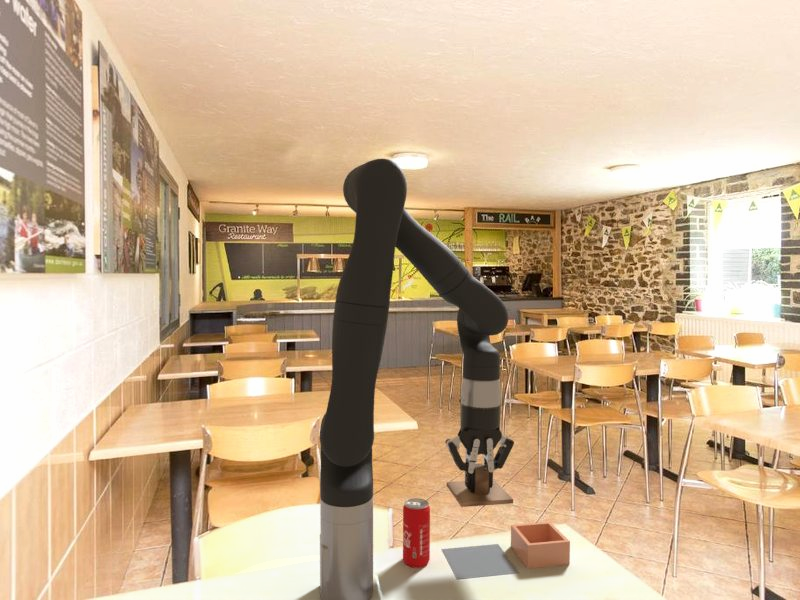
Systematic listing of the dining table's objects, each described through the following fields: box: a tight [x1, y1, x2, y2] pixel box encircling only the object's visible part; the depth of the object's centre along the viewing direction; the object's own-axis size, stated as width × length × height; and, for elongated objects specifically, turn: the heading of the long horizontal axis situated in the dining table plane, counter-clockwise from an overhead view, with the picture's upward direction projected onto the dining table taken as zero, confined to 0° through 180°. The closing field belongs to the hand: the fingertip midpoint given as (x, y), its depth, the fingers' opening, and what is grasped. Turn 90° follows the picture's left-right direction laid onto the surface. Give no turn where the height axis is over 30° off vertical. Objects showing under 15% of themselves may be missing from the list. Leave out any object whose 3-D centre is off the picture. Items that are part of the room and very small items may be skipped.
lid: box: [446, 463, 514, 508], centre depth 105 cm, size 10×10×5 cm
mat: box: [441, 543, 520, 580], centre depth 106 cm, size 12×11×1 cm
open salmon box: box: [510, 521, 571, 569], centre depth 108 cm, size 8×8×5 cm
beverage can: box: [402, 497, 431, 569], centre depth 105 cm, size 5×5×12 cm
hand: (478, 489), depth 105 cm, fingers closed on lid, 2 cm apart
